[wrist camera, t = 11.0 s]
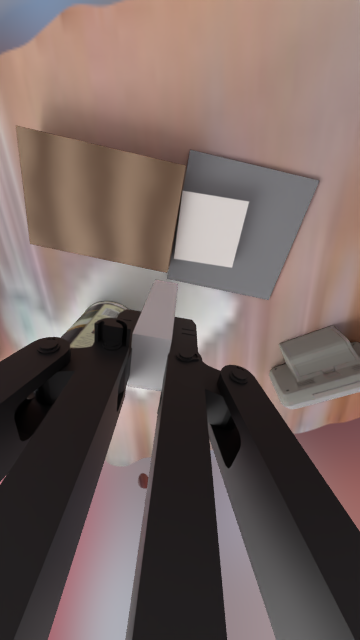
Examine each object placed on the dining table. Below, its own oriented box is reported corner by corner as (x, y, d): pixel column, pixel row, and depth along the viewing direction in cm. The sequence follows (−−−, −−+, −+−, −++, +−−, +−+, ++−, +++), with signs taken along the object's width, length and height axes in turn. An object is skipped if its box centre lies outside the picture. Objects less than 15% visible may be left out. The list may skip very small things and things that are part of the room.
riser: (48, 239, 32) (30, 243, 29) (39, 135, 26) (15, 125, 23) (169, 265, 33) (167, 272, 29) (186, 170, 27) (185, 165, 24)
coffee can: (87, 350, 41) (42, 413, 29) (77, 299, 36) (18, 349, 24) (142, 353, 41) (120, 419, 29) (140, 302, 36) (112, 355, 24)
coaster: (174, 255, 32) (173, 258, 30) (183, 191, 28) (182, 190, 26) (229, 263, 32) (232, 267, 30) (245, 201, 28) (249, 201, 26)
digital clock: (265, 377, 42) (285, 427, 33) (260, 338, 38) (281, 382, 29) (358, 361, 39) (409, 411, 30) (363, 318, 35) (424, 360, 26)
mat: (167, 277, 34) (167, 278, 34) (190, 150, 26) (190, 149, 26) (267, 298, 35) (268, 299, 34) (317, 180, 27) (319, 180, 27)
